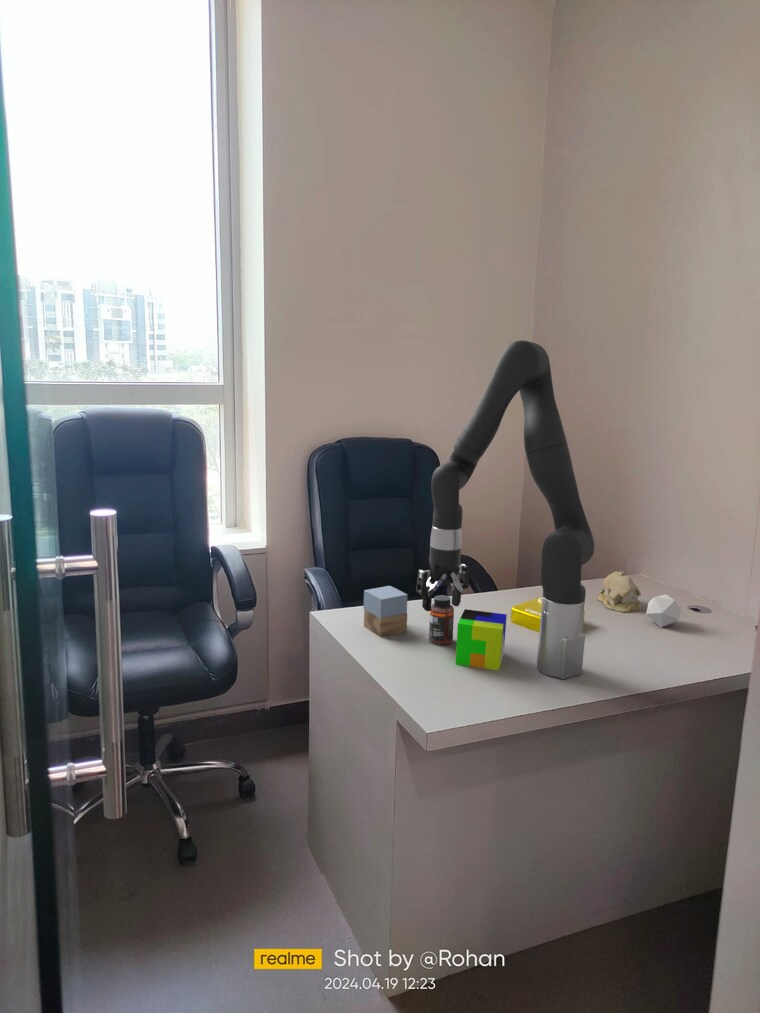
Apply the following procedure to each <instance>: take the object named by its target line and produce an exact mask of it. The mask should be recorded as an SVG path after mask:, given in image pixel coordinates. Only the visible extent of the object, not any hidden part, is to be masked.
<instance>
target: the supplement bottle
mask: <svg viewBox="0 0 760 1013" xmlns="http://www.w3.org/2000/svg"><path fill="white" fill-rule="evenodd" d="M454 614H455V609H454V605H452V604H451V597H450V596H448V595H442V594H441V595H436V596H434V598H433V604H431V611H429V626H428V627H429V628H428V629H429V630H428V641H430V643H432V644H435V645H448V644H451V643H452V642H453V639H454V619H455V616H454Z"/></svg>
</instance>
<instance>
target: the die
mask: <svg viewBox="0 0 760 1013" xmlns="http://www.w3.org/2000/svg"><path fill="white" fill-rule="evenodd" d="M647 604H648V605H647V609H646V612H645V614H646V615H647V617H649V619H651V621H652V620H653V622H654V623H655V624H656V625H657V626H658V625H659V626H658V627H659V628H663V626H664V627H667V626H670V624H671V625H673V624H674V623H677V621H679V619H680V615H681V608H682V607H681V606H680V605H679V604H678V603H677V600H675V599H673V598H672V597H671V596H669V595H668V594H667V593H666V594H665V593H664V594H661V595H657V596H655V597H653V598H652V599H651V600H649V601H648V603H647Z"/></svg>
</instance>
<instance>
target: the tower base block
mask: <svg viewBox="0 0 760 1013" xmlns="http://www.w3.org/2000/svg"><path fill="white" fill-rule="evenodd" d="M363 612H364V613H363V614H364V615H363V627H364V628H366V629H367V630H369V631H371V633H373V634H374V635H376V636H378V637H380V638H381V637H386V636H391V635H395V634H400V633H406V632H407V626H408V612H407V613H405V614H401V615H396V616H391V617H386V618H381V619H380V618H379V617H377V616H375V615H373V614H372V613H370V612H368V611H367V610H365V609H364V608H363Z"/></svg>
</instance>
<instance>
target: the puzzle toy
mask: <svg viewBox="0 0 760 1013" xmlns="http://www.w3.org/2000/svg"><path fill="white" fill-rule="evenodd" d="M506 628H507V613H498V612H491V611H482V610H473V609H468V608H467V609H466V608H465V609H464V610H463V612H462V614H461V617H460V618H459V621H458V622H457V631H456V647H455V649H456V650H455V665H458V666H464V667H473V668H479V669H487V670H494V671H500V668H501V665H502V660H503V657H504V655H505V645H506V644H505V641H506V631H507V630H506Z"/></svg>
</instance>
